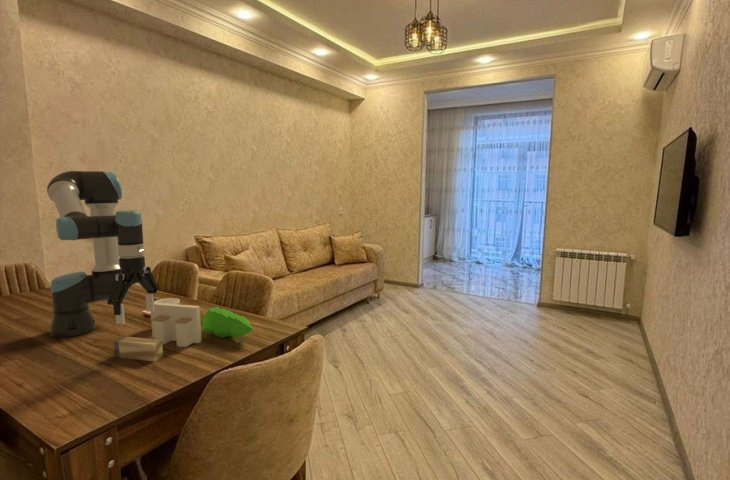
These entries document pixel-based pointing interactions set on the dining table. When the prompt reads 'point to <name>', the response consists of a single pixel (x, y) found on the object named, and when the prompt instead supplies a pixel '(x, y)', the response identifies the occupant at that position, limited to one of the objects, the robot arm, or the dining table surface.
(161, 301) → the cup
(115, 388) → the dining table surface
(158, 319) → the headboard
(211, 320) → the decorative tree
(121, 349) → the rail
